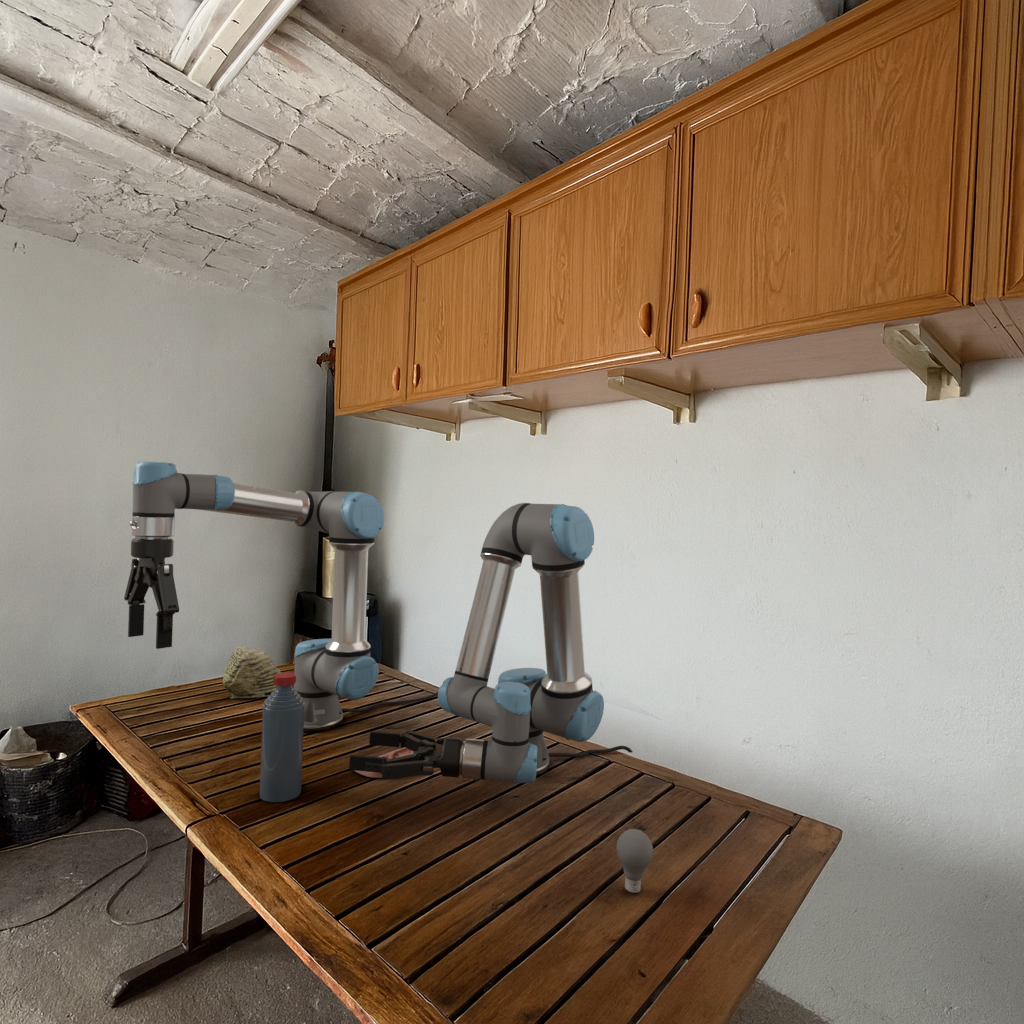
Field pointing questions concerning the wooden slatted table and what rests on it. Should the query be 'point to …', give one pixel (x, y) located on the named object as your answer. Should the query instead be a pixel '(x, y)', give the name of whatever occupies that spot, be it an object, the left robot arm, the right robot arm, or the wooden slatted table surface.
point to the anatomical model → (389, 755)
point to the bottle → (282, 745)
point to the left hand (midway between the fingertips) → (149, 641)
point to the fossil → (249, 673)
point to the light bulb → (634, 857)
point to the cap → (284, 679)
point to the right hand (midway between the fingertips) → (360, 749)
